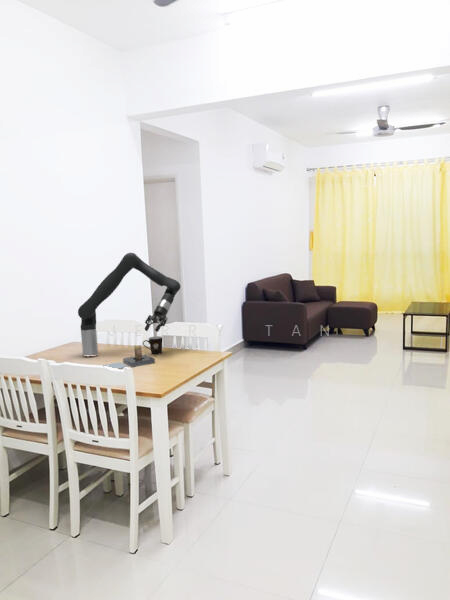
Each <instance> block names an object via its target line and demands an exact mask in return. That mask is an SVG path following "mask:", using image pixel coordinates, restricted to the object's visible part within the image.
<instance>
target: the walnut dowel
mask: <svg viewBox="0 0 450 600" xmlns="http://www.w3.org/2000/svg"><path fill="white" fill-rule="evenodd" d="M133 347H134V356H135V360H140V359H142V355H143V352H142V351H143V350H142V345H141V344H140V345H133Z"/></svg>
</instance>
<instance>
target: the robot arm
mask: <svg viewBox="0 0 450 600" xmlns="http://www.w3.org/2000/svg"><path fill="white" fill-rule="evenodd" d="M133 269H135V270H137V271H139V272H140V273H142V274H143V275H144V276H145V277H147V278H148V279H149V280H151V281H152V282H154V283H155V284H156V285H158V286H159V287H163V286H164V287H166V289H165V291H164V294H163V296H162V297H161V299H160V301H159V302H158V304H157V306H156V308H155V309H154V311H153V315H151V314H149V315H148V316H147V318H146V319H145V321H144V323H145V324H146V325H145V327H144V330H145V331H146V332H148V331H149V329H150V327H151V325H154V324H157V325H156V327H155V329H154V331H155V332H156V333H157V332H159V331H160V329H161V328H162V327H165V325H166V324H167V322H168V319H169V318H168V317H167V314H168V313H169V312H170V311H169V310H170V309H171V306H172V304H173V302H174V298H175V296H176V294H177V293H178V292H179V291H180V289H181V284H180V282H179V281H178V280H176V279H174V278H171V277H169V276H166V275H165V274H163V273H162V272H160V271H158V270H157V269H155V268H153V267H152V266H151V265H149V264H147V262H145V261H144V260H142V259H141V258H140V257H139V256H138V255H137V254H136V253H134V252H127V253H126V254H125V255H124V256H123V257H122V258H121V260H120V262H119V263H118V265H116V267H115V268H114V269H113V270H112V271H111V272H109V274H108V275H106V276H105V278H104V279H103V280H102V281H101V282H100V283H99V285H98V286H97V287H96V288H95V290H94V292H93V293H92V295H91V296H89V297H88V299H87V300H86V301H85V302H83V304H82V305H80V306H79V308H78V309H77V315H78V317H79V318H80V319H81V323H80V334H81V336H80V337H81V346H82V347H81V348H82V356H83V355H97V354H98V355H99V348H98V336H97V312H96V310H97V309H98V307H99V306H100V305H101V304H102V303H103V302H104V301H106V299H108V298H109V297H110V296H111V295H112V294H113V292H115V290H116V289H117V288H118V287H119V286H120V284H121V282H122V281H123V279H124V278H125V276H126V275H127V274H128V273H129V272H131V271H132V270H133Z"/></svg>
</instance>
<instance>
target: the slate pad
mask: <svg viewBox="0 0 450 600" xmlns="http://www.w3.org/2000/svg"><path fill="white" fill-rule="evenodd" d="M107 365H109V366H108V367H112V368H118V369H119V370H123V369H122V368H124V367H128V368H129V365H127V364H125V363H122V362H120V361H118V362H114V363H113V362H112V363H108V364H107V363H106V364H103V365H102V367H104V366H107Z"/></svg>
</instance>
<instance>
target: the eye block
mask: <svg viewBox="0 0 450 600" xmlns="http://www.w3.org/2000/svg"><path fill="white" fill-rule="evenodd" d="M155 359H156V358H154V357H151V356H150V355H147V354H142V359H140V360H135V355H134V356H130V357H124V358H122V362H123V363H122V364H124V365H126V366H128V367H131V368H135V367H140V366H145V365H151V364H152V365H153V364H155V363H156V360H155Z"/></svg>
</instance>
